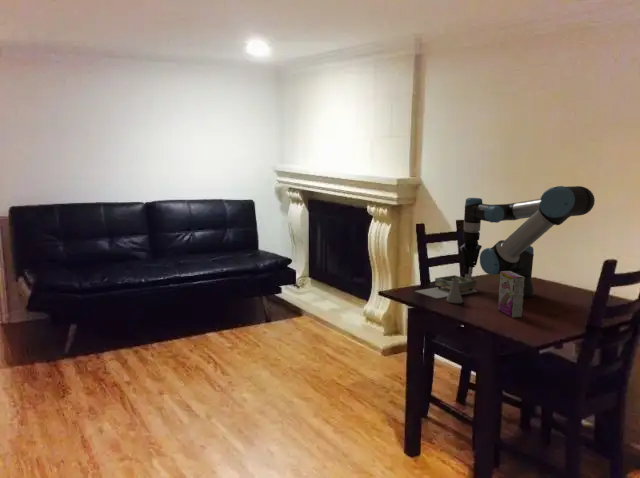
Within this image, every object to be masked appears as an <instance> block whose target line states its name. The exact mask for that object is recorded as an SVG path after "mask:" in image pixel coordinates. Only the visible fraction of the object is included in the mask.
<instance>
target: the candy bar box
mask: <svg viewBox="0 0 640 478" xmlns="http://www.w3.org/2000/svg"><path fill="white" fill-rule="evenodd" d="M524 283H525V277H523V276H521V275H518V274H516V273H514V272H511V271H500V274H499V285H498V299H497V301H498V302H497V310H498V311H499V312H501V313H502V314H503V315H507V316H508V317H509V318H512V319H516V318H517V319H518V317H519V318H523V308H524V307H523V306H524V298H523V297H524Z"/></svg>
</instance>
